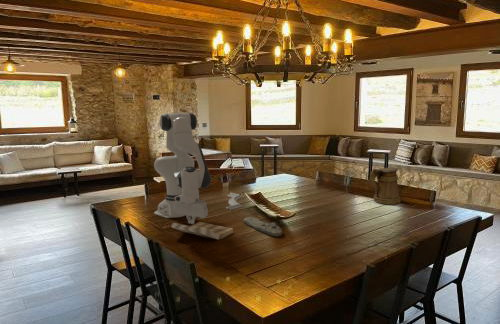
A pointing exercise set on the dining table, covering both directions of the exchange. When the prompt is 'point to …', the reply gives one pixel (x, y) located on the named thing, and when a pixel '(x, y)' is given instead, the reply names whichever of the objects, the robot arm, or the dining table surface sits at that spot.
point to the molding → (234, 201)
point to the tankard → (385, 186)
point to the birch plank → (195, 231)
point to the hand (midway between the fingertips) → (191, 223)
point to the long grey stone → (263, 226)
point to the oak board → (214, 229)
